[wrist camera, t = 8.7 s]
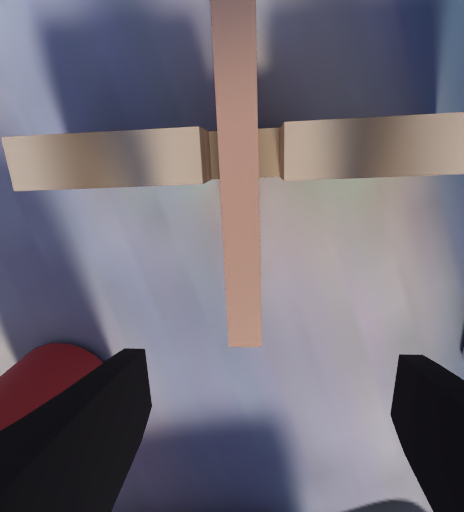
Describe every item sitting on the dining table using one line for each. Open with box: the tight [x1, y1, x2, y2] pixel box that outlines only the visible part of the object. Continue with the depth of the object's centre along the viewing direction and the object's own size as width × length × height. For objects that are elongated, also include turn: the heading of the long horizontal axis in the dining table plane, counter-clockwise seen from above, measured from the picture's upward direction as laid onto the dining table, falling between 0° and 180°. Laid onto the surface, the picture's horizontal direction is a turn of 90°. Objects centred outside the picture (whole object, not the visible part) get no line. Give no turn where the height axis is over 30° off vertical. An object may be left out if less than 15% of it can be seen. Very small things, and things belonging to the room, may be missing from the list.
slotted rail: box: [1, 112, 464, 191], centre depth 14 cm, size 18×2×5 cm, turn 93°
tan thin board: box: [210, 0, 262, 347], centre depth 13 cm, size 1×12×7 cm, turn 2°
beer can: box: [0, 343, 103, 431], centre depth 16 cm, size 7×7×12 cm
